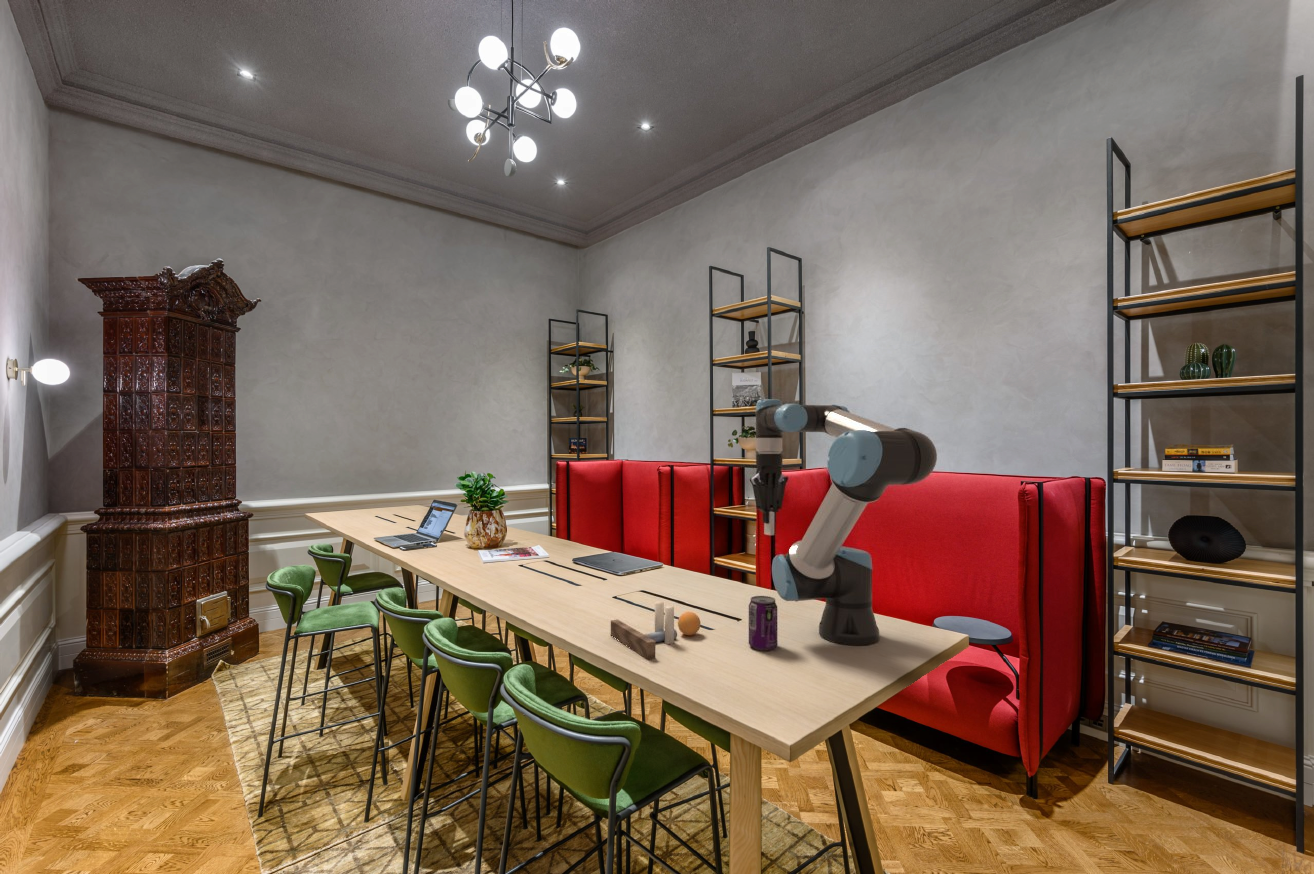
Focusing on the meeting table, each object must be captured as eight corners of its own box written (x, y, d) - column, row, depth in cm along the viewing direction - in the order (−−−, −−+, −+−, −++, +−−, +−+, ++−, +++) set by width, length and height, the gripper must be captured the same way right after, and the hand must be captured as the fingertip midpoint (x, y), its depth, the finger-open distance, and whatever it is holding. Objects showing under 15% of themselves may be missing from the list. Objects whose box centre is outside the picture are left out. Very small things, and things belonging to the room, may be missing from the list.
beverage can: (777, 653, 143) (777, 603, 143) (747, 650, 144) (747, 601, 145) (777, 643, 150) (777, 595, 150) (749, 641, 151) (749, 594, 152)
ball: (684, 635, 152) (700, 640, 155) (692, 612, 153) (708, 618, 156) (670, 628, 157) (686, 633, 160) (678, 606, 158) (693, 612, 161)
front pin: (677, 630, 153) (646, 636, 148) (676, 639, 153) (646, 645, 149) (672, 627, 155) (642, 633, 151) (672, 636, 155) (642, 642, 151)
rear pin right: (665, 637, 154) (665, 603, 154) (657, 639, 153) (657, 604, 153) (660, 635, 156) (660, 600, 156) (653, 636, 155) (653, 602, 155)
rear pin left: (675, 643, 150) (675, 607, 150) (667, 644, 149) (667, 609, 149) (670, 640, 152) (670, 605, 152) (662, 642, 151) (662, 606, 151)
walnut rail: (655, 658, 140) (655, 641, 140) (648, 659, 139) (648, 642, 139) (617, 634, 157) (617, 619, 157) (610, 635, 156) (610, 620, 156)
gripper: (777, 452, 177) (777, 531, 177) (743, 452, 171) (743, 534, 171) (795, 452, 171) (795, 534, 171) (760, 453, 164) (760, 538, 164)
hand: (769, 534), depth 171 cm, fingers closed
